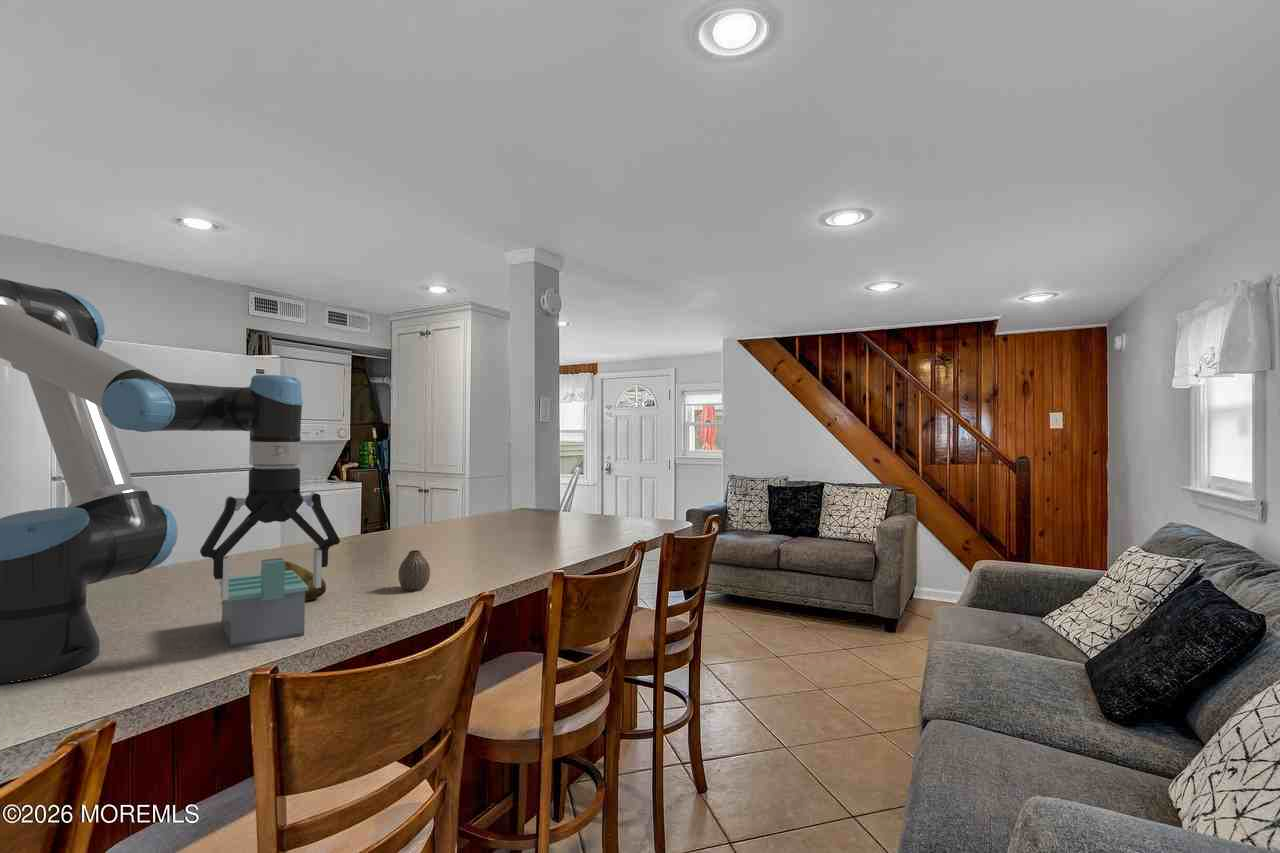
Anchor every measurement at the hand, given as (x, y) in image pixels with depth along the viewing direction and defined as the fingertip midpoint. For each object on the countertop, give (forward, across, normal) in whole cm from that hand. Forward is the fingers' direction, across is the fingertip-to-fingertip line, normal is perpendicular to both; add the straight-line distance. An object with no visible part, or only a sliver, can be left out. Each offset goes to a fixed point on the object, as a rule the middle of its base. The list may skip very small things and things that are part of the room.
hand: (272, 592), depth 105 cm
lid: (+1, 0, +8) cm, 8 cm away
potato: (+10, +8, +30) cm, 32 cm away
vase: (+10, +32, +24) cm, 41 cm away
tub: (+9, 0, +10) cm, 14 cm away
